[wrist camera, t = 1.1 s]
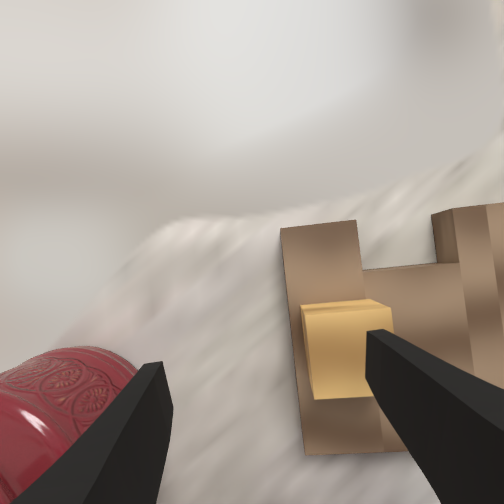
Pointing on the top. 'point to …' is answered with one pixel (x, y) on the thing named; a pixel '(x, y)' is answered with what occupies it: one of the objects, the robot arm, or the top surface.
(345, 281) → the wooden slab structure
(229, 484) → the top surface
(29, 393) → the canister
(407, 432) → the robot arm
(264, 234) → the top surface
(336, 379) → the block
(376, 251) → the top surface
